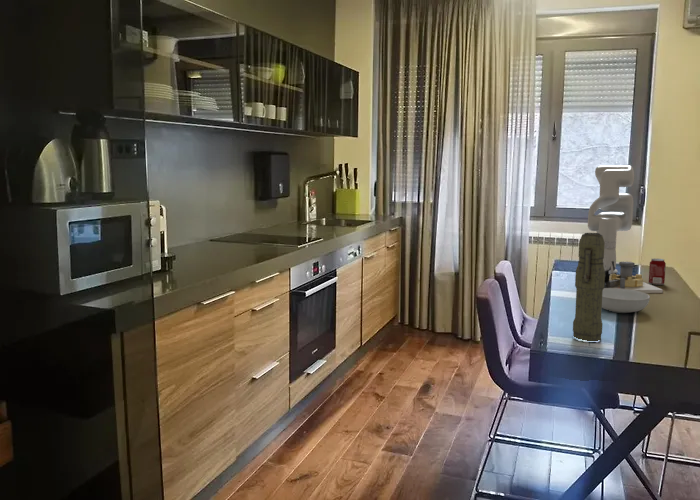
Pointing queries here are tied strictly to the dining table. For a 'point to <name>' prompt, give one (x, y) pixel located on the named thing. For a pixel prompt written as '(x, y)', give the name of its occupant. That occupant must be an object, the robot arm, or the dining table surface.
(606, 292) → the serving bowl
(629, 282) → the tan ring with handle
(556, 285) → the dining table surface
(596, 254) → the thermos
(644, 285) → the hub plate
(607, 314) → the dining table surface
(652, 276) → the soda can
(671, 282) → the dining table surface
